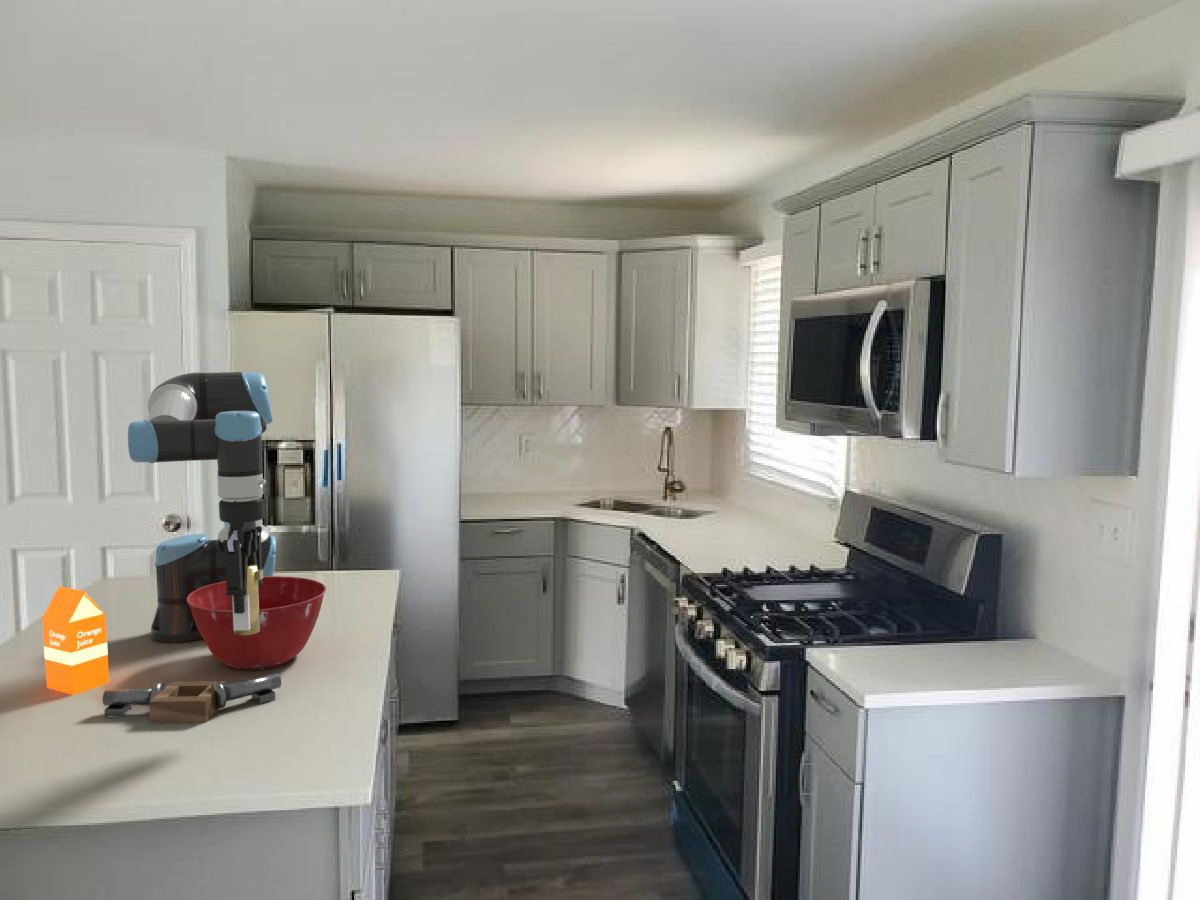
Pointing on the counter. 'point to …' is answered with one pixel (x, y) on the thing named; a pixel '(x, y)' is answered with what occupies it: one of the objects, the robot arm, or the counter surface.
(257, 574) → the joint pin
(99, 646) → the orange juice
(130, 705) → the shaft
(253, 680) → the shaft
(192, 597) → the mixing bowl
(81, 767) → the counter surface
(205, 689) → the coupling block
